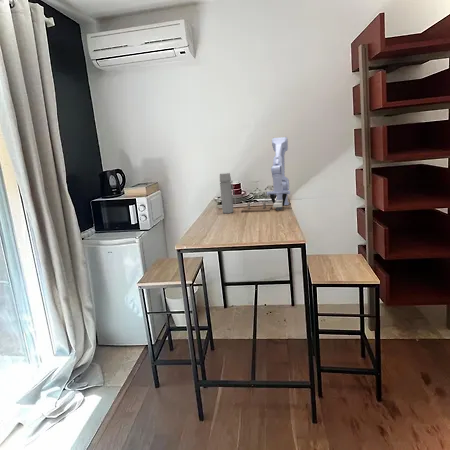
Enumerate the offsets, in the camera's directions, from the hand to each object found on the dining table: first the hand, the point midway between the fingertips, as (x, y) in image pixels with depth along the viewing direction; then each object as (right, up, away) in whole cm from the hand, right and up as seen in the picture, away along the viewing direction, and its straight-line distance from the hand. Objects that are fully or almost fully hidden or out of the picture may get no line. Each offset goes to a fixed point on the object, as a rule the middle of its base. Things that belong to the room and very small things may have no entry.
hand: (279, 206), depth 241 cm
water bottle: (-31, -4, +4) cm, 32 cm away
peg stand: (-14, -3, +3) cm, 14 cm away
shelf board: (0, +1, 0) cm, 1 cm away
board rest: (0, -2, 0) cm, 2 cm away
